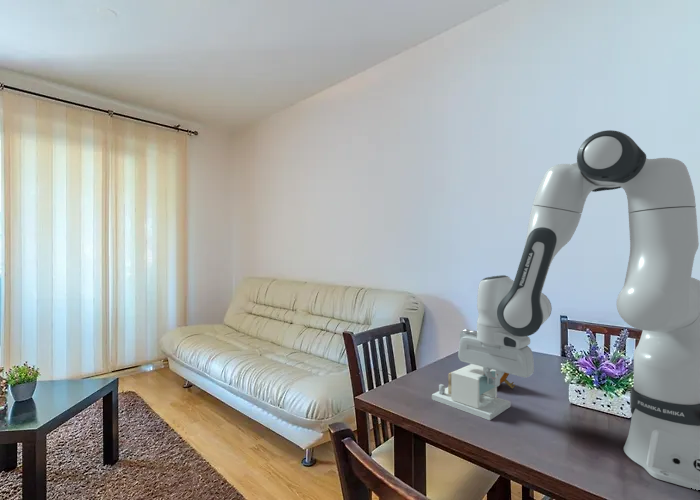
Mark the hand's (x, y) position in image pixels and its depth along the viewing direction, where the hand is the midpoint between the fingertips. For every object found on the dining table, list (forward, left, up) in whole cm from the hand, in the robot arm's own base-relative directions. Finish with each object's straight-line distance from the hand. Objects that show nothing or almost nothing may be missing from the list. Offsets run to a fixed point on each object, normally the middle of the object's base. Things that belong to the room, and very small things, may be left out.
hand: (493, 384), depth 103 cm
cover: (+6, 0, -6) cm, 8 cm away
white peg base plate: (+7, 0, -7) cm, 10 cm away
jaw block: (+11, 0, -6) cm, 12 cm away
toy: (+9, -17, -8) cm, 21 cm away
